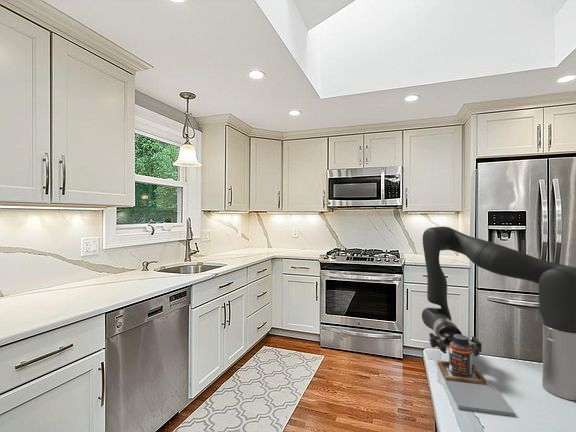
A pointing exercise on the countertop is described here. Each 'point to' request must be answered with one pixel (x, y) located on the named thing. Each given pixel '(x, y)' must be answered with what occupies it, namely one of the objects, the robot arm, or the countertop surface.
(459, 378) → the walnut frame
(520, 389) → the countertop surface
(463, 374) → the supplement bottle
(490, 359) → the countertop surface
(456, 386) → the plate
